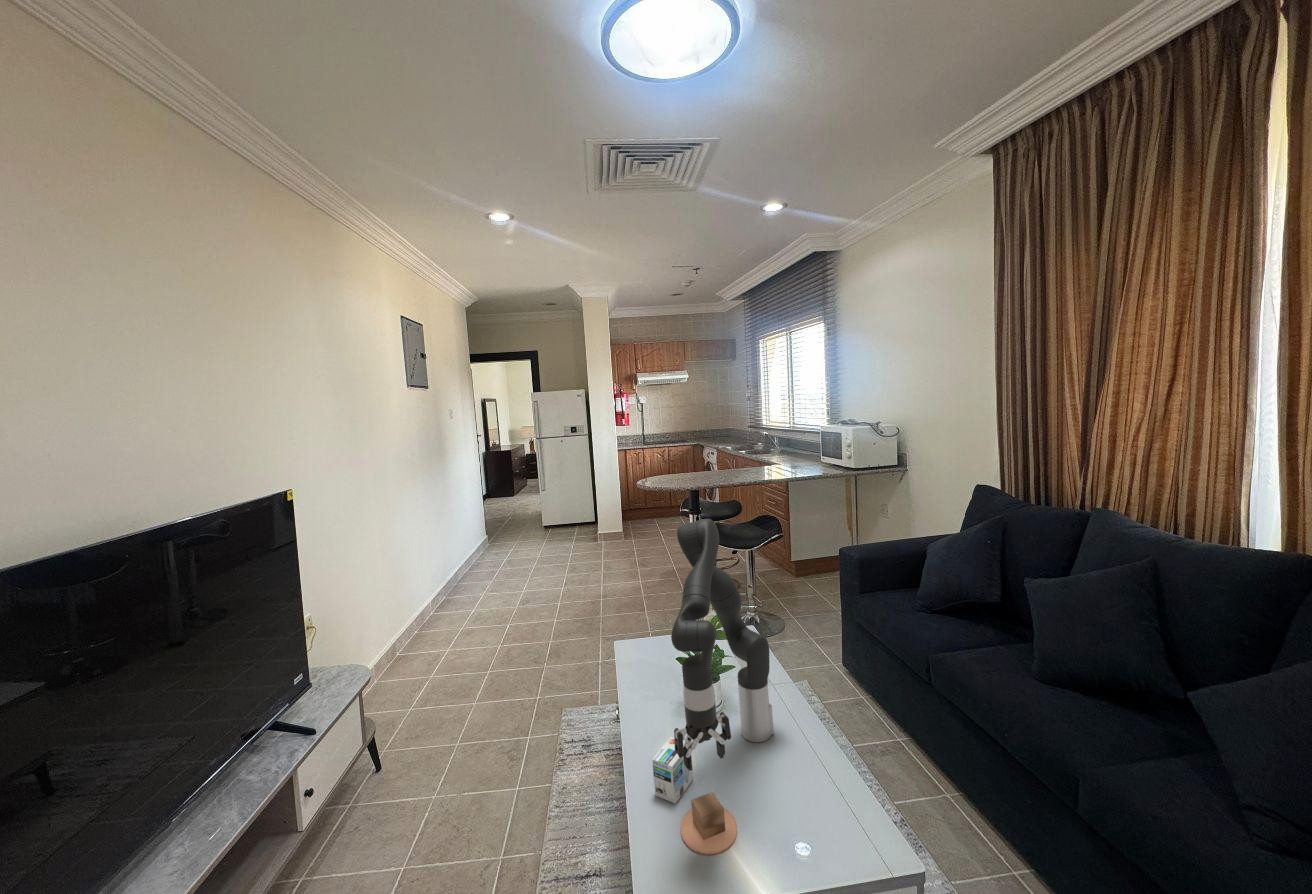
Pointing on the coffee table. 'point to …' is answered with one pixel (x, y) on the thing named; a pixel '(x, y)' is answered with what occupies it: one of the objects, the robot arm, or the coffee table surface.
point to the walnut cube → (708, 815)
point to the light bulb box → (670, 773)
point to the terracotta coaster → (713, 843)
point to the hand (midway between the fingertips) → (705, 762)
